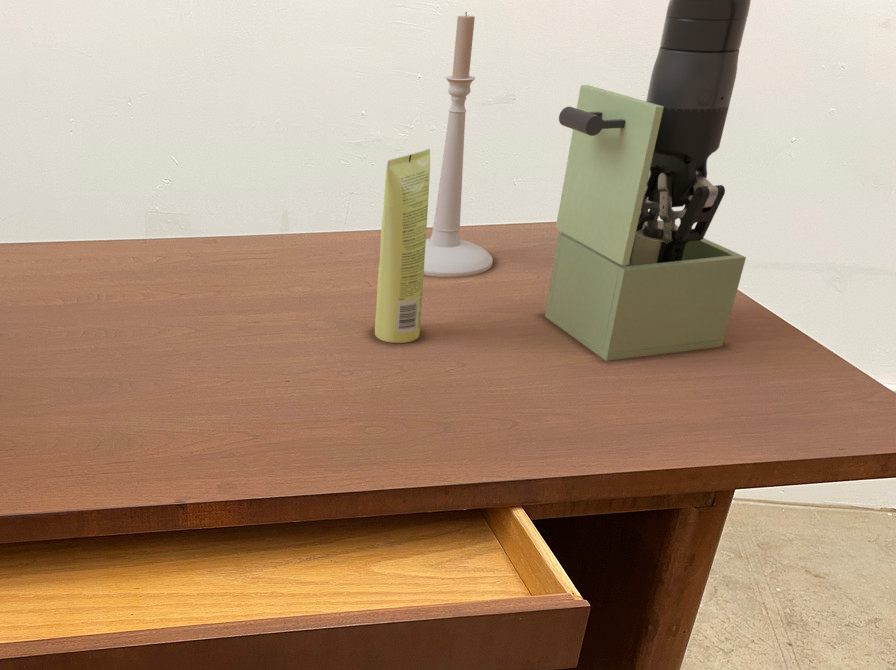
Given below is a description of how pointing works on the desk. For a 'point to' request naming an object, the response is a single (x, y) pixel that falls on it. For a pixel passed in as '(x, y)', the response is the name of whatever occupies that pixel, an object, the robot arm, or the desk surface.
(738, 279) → the chest
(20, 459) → the desk surface
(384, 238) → the tube
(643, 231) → the spice bottle
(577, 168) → the lid
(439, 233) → the candlestick
